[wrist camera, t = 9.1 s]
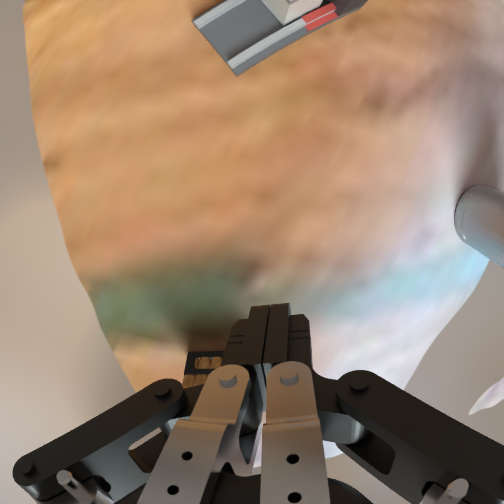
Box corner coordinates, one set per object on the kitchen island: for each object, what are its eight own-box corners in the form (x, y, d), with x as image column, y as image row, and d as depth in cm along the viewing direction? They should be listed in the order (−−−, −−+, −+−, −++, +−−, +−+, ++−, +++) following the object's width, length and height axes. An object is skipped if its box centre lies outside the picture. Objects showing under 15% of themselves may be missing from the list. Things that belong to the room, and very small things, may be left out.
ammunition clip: (258, 349, 46) (259, 409, 35) (259, 358, 47) (260, 418, 35) (187, 351, 46) (172, 409, 35) (190, 360, 47) (175, 418, 36)
